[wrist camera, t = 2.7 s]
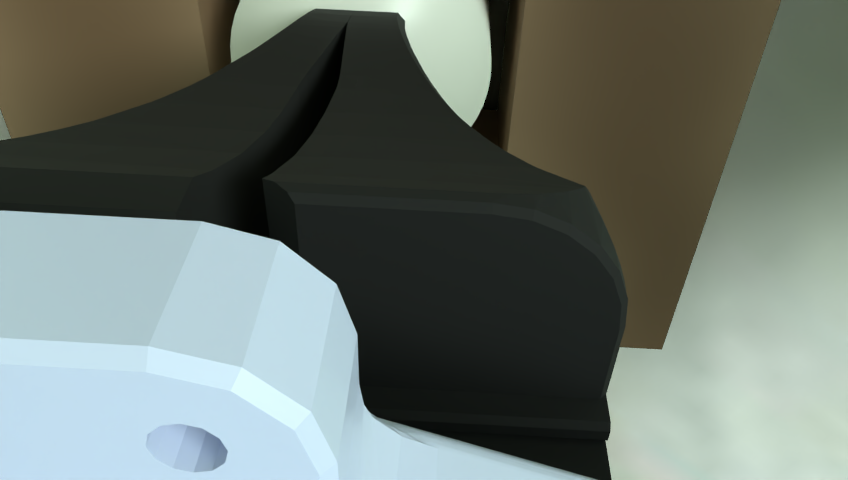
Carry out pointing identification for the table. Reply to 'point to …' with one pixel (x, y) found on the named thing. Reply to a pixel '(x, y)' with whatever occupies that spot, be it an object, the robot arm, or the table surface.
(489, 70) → the button one
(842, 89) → the table surface
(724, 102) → the button board
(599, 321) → the robot arm
